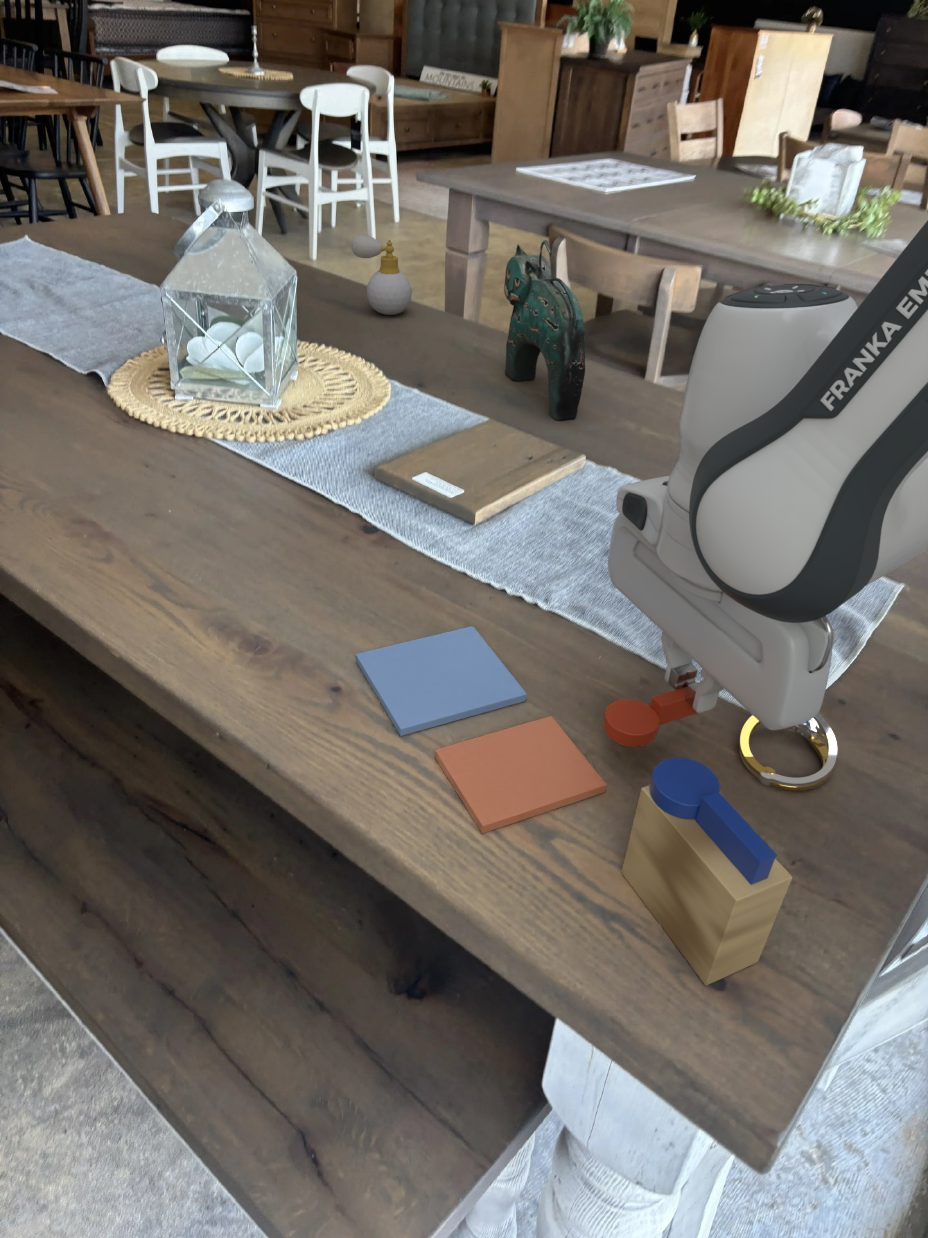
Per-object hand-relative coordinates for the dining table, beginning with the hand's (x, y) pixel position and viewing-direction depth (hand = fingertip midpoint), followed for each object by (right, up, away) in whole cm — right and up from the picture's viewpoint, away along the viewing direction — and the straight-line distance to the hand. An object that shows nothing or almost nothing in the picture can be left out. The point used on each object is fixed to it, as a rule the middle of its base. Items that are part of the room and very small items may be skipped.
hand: (688, 695), depth 68 cm
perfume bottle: (-31, +57, +85) cm, 107 cm away
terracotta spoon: (-2, -2, 0) cm, 3 cm away
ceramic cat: (-6, +37, +59) cm, 70 cm away
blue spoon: (-2, -7, -16) cm, 17 cm away
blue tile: (-19, +1, +7) cm, 20 cm away
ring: (+5, -6, -2) cm, 8 cm away
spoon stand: (-3, -13, -11) cm, 17 cm away
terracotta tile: (-13, -6, -2) cm, 14 cm away
